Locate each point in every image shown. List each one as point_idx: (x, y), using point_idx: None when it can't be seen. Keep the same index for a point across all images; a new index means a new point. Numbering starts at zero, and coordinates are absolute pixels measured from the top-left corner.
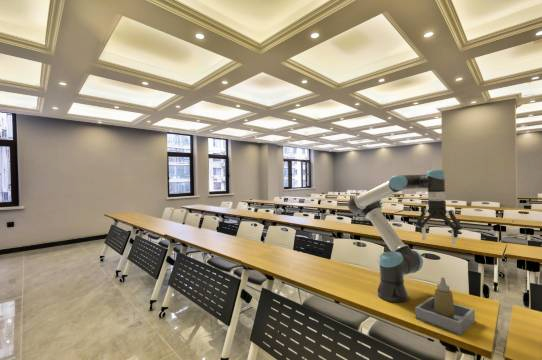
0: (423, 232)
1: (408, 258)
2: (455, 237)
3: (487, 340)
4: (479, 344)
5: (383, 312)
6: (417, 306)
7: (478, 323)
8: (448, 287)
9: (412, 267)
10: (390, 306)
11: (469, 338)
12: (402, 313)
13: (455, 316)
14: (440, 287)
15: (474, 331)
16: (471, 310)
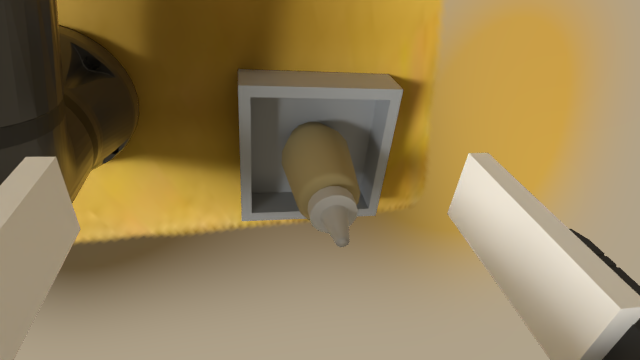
0: (23, 337)
1: None
2: (540, 208)
3: (421, 166)
4: (405, 197)
5: (152, 234)
6: (243, 209)
7: (398, 83)
8: (355, 216)
9: (59, 72)
10: (133, 185)
11: (384, 188)
12: (195, 198)
13: (335, 105)
14: (328, 232)
15: (392, 144)
16: (394, 104)
